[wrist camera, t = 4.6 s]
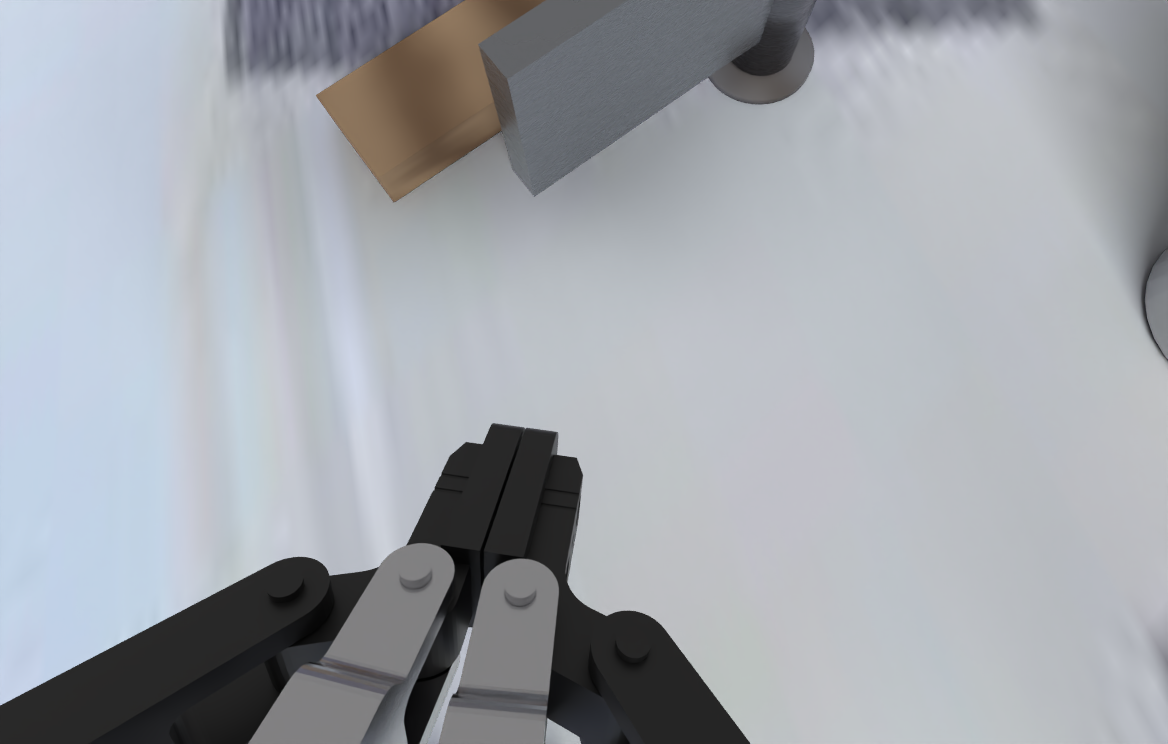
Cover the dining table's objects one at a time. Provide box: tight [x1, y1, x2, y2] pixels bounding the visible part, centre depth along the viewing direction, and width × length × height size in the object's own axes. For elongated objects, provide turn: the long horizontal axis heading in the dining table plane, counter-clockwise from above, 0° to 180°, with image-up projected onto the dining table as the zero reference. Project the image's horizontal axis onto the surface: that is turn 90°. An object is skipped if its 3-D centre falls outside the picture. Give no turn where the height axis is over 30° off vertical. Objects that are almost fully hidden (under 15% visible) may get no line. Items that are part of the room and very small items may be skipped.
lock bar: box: [478, 0, 816, 197], centre depth 26 cm, size 17×4×10 cm, turn 127°
